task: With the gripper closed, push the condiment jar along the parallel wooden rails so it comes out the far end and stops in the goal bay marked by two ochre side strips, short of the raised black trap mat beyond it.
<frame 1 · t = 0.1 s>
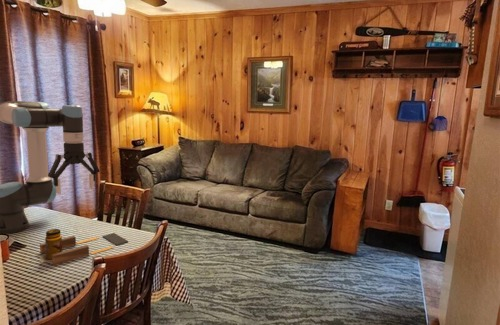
hand: (75, 190, 144), 28 cm above the table, fingers open, 13 cm apart
trap mat: (115, 239, 162), on the table
condiment: (52, 258, 141), on the table
goal bay: (94, 245, 155), on the table
parallel wooden rails: (64, 253, 145), on the table
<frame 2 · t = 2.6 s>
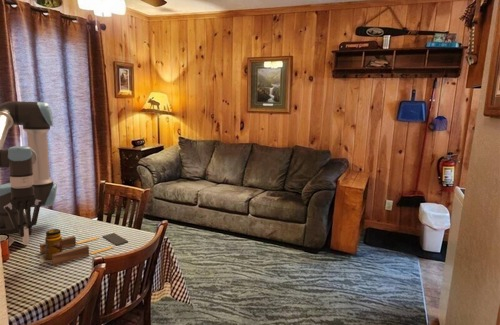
hand: (26, 243, 133), 9 cm above the table, fingers closed
nothing on the table moved.
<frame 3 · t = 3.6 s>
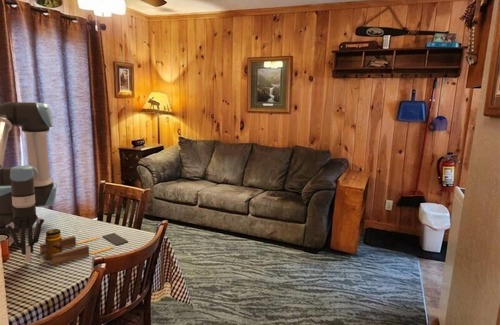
hand: (28, 260, 135), 1 cm above the table, fingers closed
nothing on the table moved.
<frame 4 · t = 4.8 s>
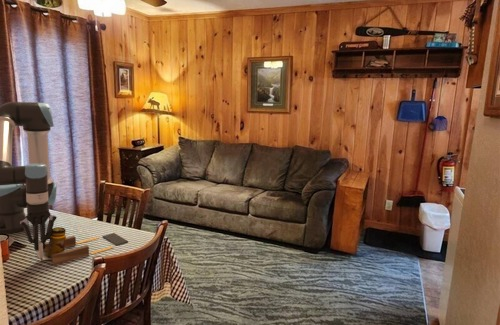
hand: (40, 257, 137), 2 cm above the table, fingers closed
condiment: (53, 256, 142), on the table, touching gripper, hand
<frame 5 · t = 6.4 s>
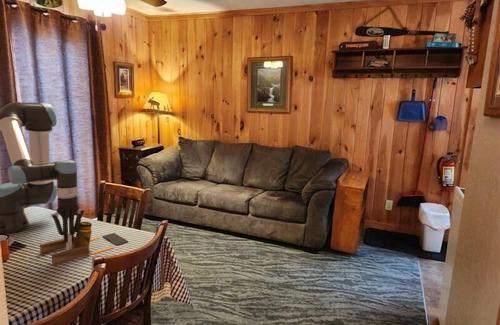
hand: (69, 248, 145), 2 cm above the table, fingers closed
condiment: (78, 249, 149), point 1 cm above the table, touching gripper, hand
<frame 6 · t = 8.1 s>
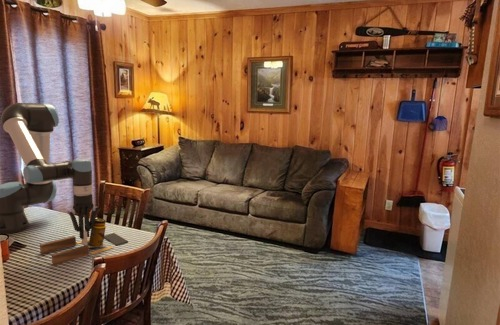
hand: (84, 244, 150), 2 cm above the table, fingers closed
condiment: (93, 245, 154), point 1 cm above the table, touching gripper, hand
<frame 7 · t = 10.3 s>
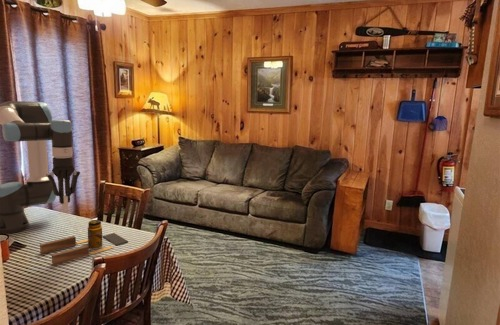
hand: (65, 210, 144), 19 cm above the table, fingers closed
condiment: (93, 246, 154), on the table
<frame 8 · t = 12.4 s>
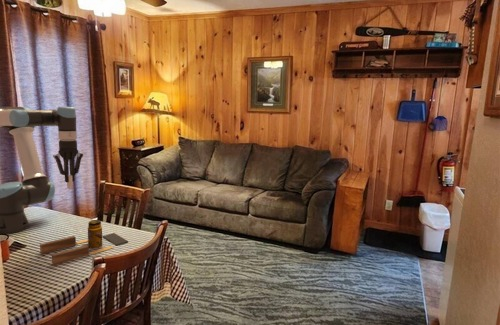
hand: (70, 188, 160), 24 cm above the table, fingers closed
nothing on the table moved.
at the end: condiment inside the target area (1.0 cm from its centre), on the table; condiment tilted 0° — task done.
